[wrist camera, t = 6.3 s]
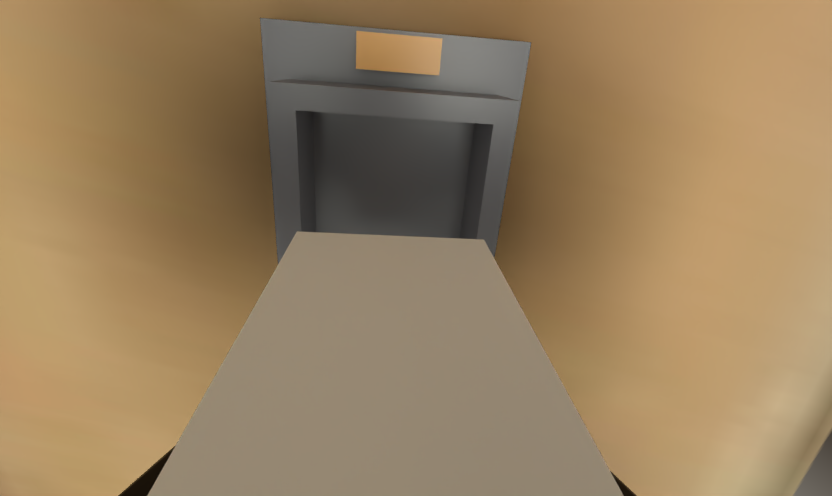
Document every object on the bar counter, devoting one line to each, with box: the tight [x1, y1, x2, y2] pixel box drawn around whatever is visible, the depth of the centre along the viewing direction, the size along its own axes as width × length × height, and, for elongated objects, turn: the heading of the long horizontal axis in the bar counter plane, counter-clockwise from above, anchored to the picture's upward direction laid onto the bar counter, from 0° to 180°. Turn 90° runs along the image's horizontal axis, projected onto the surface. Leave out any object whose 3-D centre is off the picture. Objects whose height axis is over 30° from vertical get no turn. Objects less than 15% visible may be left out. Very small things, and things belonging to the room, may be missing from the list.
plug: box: [147, 231, 623, 496], centre depth 6 cm, size 5×4×7 cm
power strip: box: [260, 18, 531, 264], centre depth 19 cm, size 26×10×4 cm, turn 176°
